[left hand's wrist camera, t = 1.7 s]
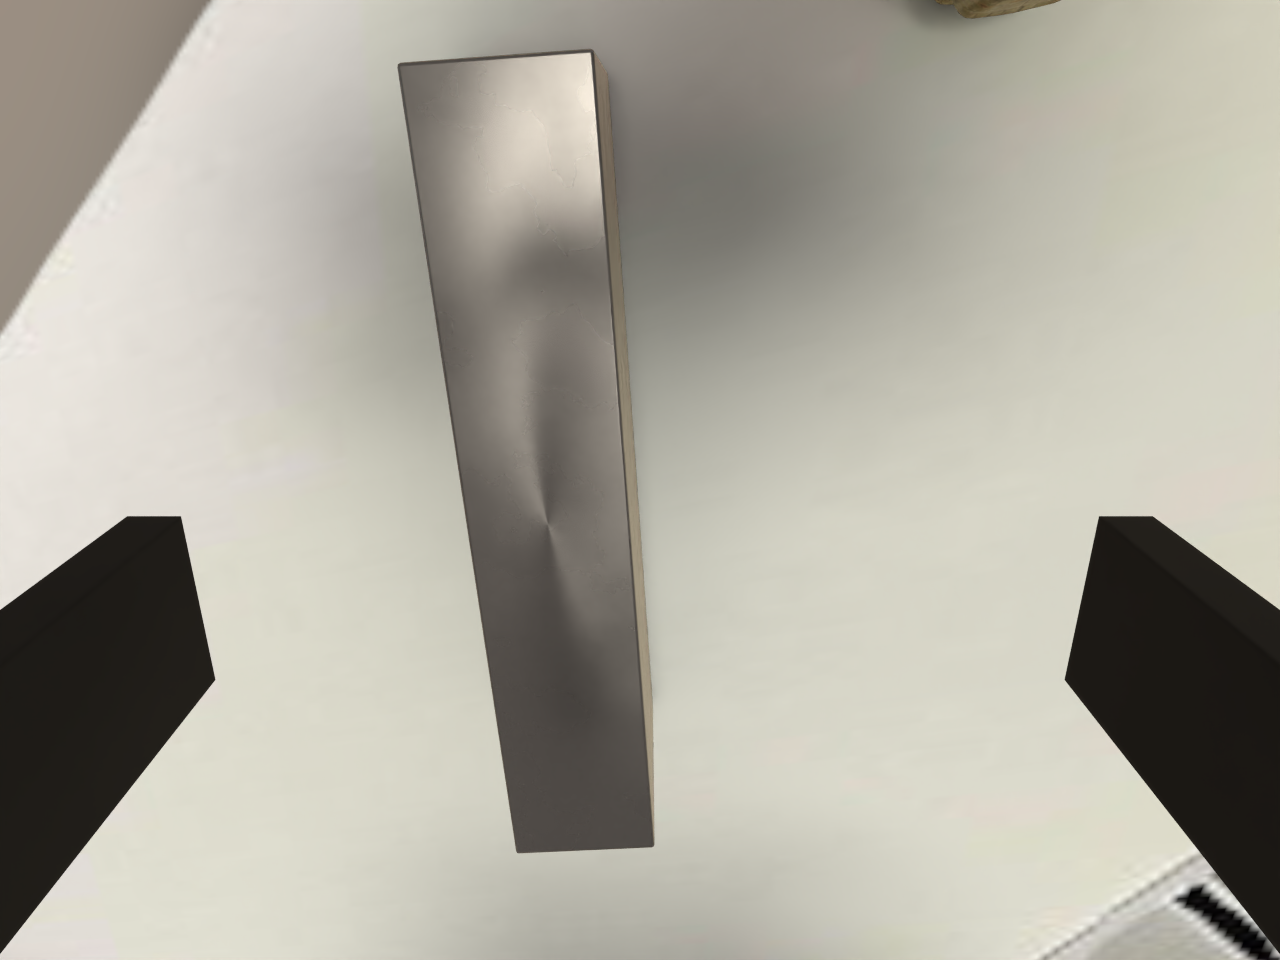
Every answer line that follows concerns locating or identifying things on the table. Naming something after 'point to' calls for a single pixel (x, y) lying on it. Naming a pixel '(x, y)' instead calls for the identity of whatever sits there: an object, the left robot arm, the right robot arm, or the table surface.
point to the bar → (542, 428)
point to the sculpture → (993, 6)
